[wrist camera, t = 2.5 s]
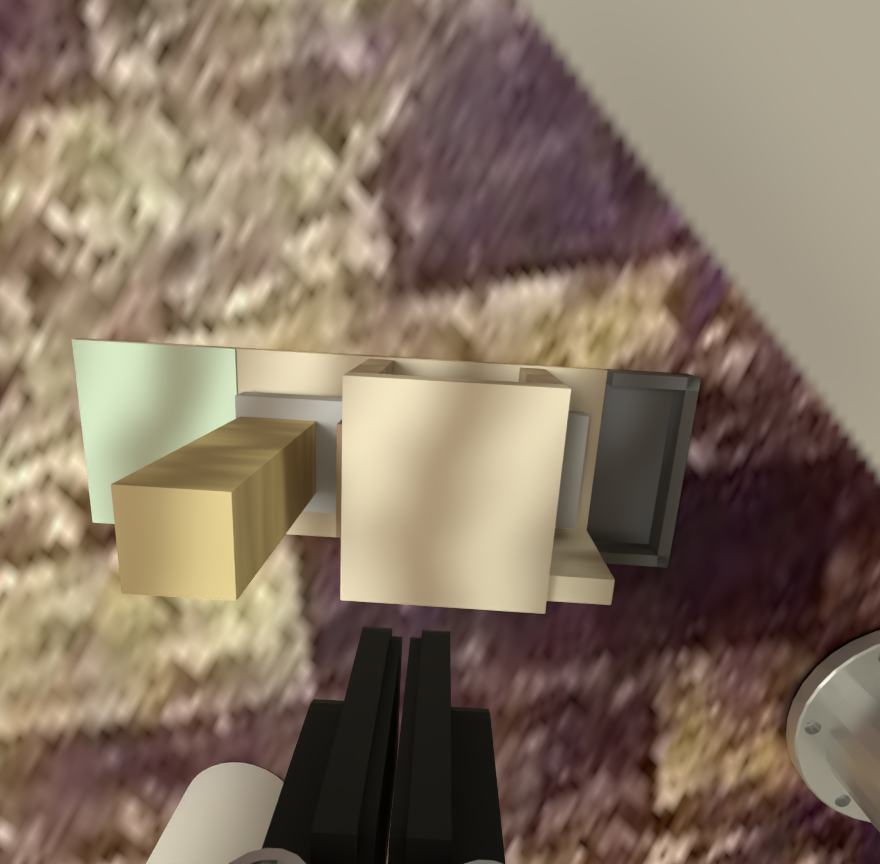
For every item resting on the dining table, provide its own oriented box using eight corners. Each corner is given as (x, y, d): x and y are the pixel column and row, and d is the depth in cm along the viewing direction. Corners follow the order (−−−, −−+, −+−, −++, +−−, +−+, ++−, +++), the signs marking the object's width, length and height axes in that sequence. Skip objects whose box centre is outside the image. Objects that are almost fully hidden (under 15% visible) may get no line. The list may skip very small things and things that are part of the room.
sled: (583, 411, 25) (670, 486, 15) (570, 519, 27) (641, 656, 16) (244, 391, 26) (100, 451, 15) (248, 499, 27) (118, 621, 17)
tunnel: (687, 373, 26) (762, 397, 19) (656, 553, 28) (715, 627, 22) (80, 338, 26) (-40, 350, 20) (100, 517, 28) (-2, 579, 22)
